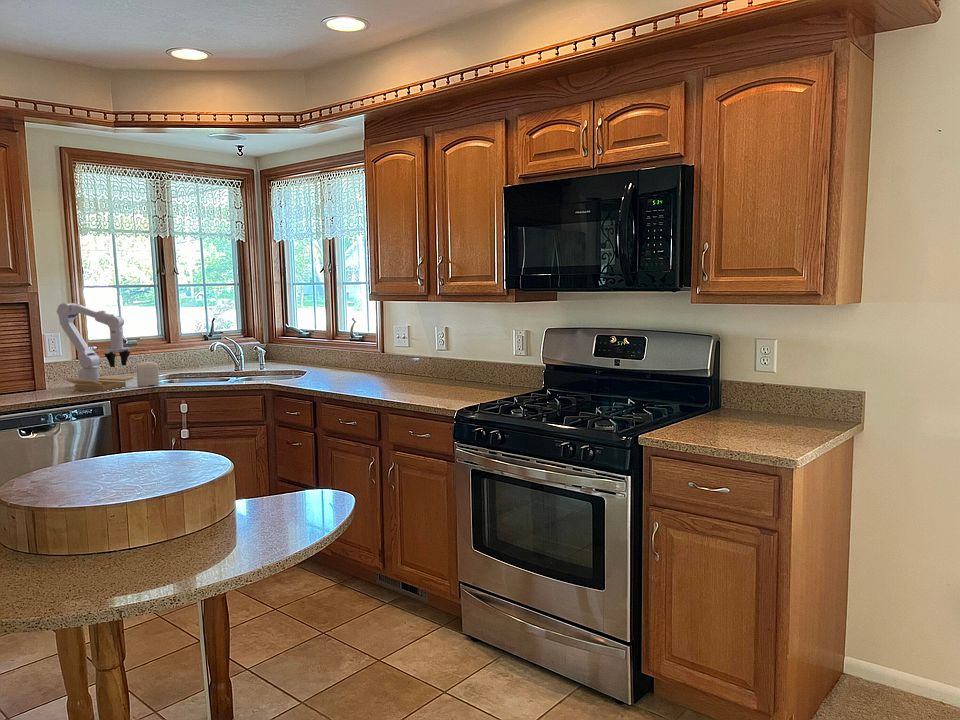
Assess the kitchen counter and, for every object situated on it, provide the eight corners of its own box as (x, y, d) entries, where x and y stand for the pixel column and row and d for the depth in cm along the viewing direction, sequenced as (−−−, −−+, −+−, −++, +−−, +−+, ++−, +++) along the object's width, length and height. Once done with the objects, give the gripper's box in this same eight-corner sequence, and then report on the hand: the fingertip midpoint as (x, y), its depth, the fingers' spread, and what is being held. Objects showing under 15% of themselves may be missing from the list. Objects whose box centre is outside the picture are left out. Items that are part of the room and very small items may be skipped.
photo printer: (158, 384, 381) (157, 361, 379) (160, 385, 377) (158, 361, 376) (136, 386, 375) (135, 362, 374) (138, 387, 372) (137, 363, 370)
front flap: (74, 381, 362) (74, 383, 361) (66, 378, 357) (65, 380, 356) (102, 383, 356) (101, 384, 356) (93, 379, 351) (93, 381, 351)
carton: (74, 390, 362) (74, 384, 362) (97, 386, 375) (97, 380, 375) (103, 391, 356) (103, 385, 356) (125, 387, 370) (125, 381, 369)
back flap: (106, 375, 380) (106, 377, 380) (98, 378, 375) (98, 380, 375) (133, 376, 374) (133, 378, 375) (124, 379, 369) (125, 381, 370)
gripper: (111, 341, 369) (113, 367, 371) (133, 338, 383) (135, 364, 384) (100, 340, 371) (102, 367, 373) (122, 338, 385) (124, 364, 386)
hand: (118, 366), depth 379 cm, fingers open, 7 cm apart
